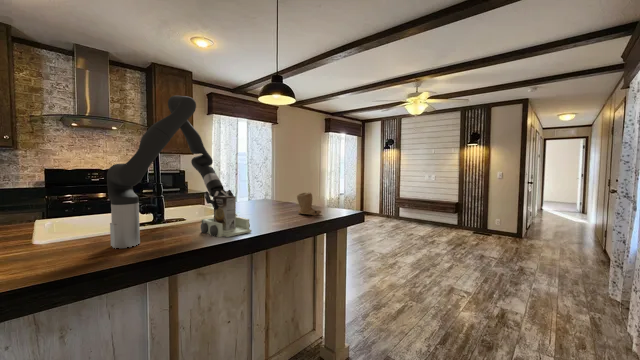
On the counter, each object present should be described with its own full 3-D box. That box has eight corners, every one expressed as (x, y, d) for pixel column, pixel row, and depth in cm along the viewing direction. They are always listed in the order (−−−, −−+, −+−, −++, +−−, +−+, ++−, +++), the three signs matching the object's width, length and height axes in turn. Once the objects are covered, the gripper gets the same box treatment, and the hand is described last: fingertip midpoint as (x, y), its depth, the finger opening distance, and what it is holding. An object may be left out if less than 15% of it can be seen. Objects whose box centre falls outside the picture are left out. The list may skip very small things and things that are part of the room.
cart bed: (221, 239, 124) (221, 225, 123) (199, 231, 137) (199, 219, 137) (256, 231, 138) (256, 219, 137) (233, 225, 151) (233, 214, 151)
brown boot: (293, 214, 188) (293, 192, 187) (305, 212, 197) (305, 191, 196) (309, 217, 178) (309, 193, 177) (321, 214, 187) (322, 192, 186)
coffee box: (213, 228, 138) (212, 196, 137) (223, 226, 144) (223, 194, 143) (226, 230, 133) (225, 197, 133) (236, 228, 139) (236, 195, 138)
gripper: (202, 179, 138) (214, 204, 131) (228, 178, 149) (240, 201, 142) (197, 189, 142) (208, 214, 135) (223, 187, 152) (235, 210, 145)
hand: (225, 207), depth 138 cm, fingers open, 8 cm apart
